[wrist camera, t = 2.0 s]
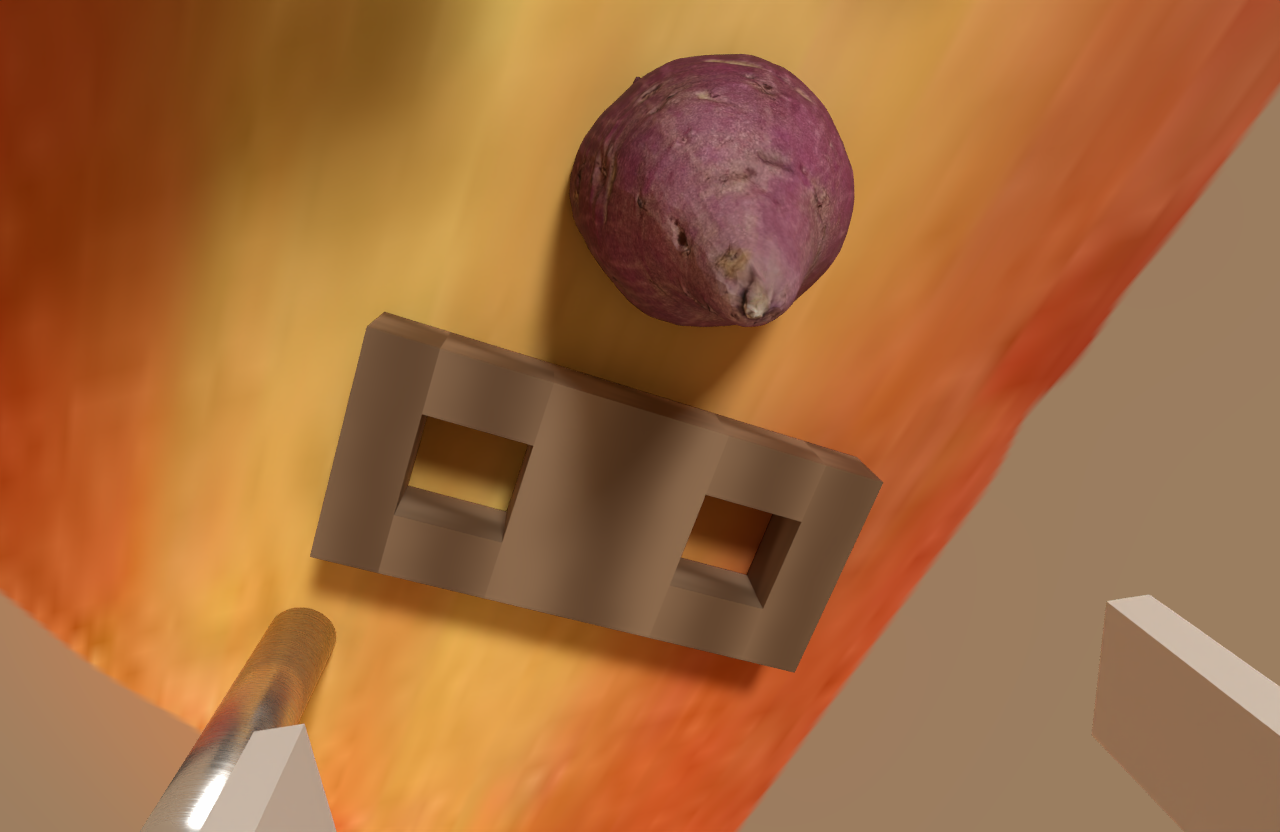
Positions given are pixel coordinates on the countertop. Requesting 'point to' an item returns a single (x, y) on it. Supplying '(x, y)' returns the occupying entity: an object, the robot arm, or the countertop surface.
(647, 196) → the vegetable
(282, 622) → the pin
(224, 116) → the countertop surface
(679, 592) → the board
